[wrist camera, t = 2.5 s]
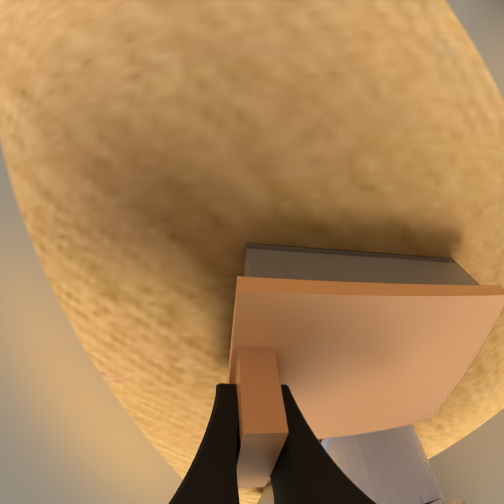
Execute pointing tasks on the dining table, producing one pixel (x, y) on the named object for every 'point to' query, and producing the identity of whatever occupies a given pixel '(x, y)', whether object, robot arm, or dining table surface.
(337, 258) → the tub
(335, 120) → the dining table surface
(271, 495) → the salt shaker
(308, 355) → the lid
